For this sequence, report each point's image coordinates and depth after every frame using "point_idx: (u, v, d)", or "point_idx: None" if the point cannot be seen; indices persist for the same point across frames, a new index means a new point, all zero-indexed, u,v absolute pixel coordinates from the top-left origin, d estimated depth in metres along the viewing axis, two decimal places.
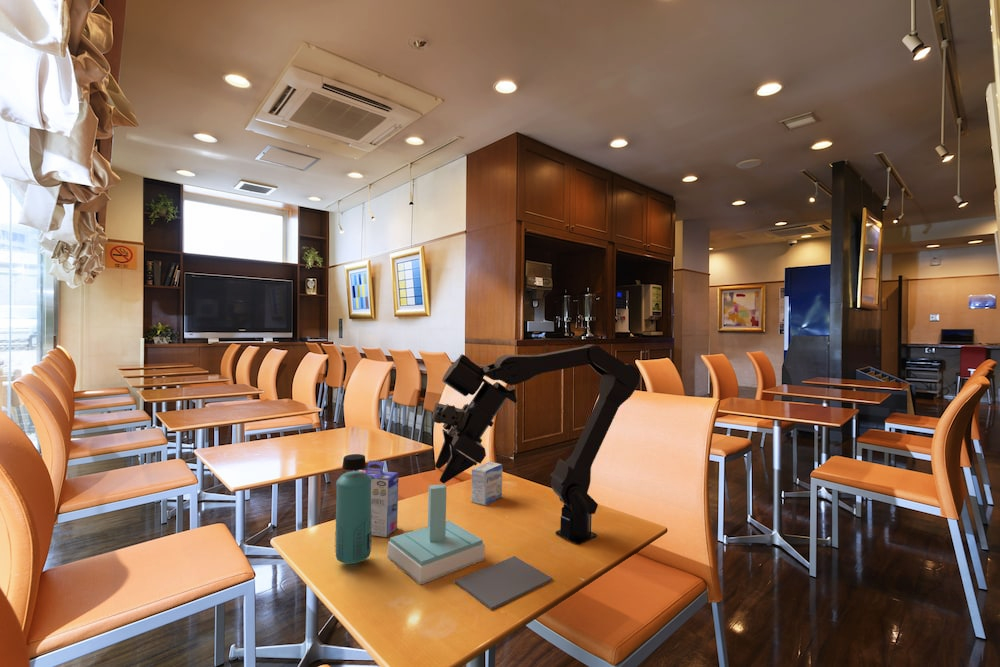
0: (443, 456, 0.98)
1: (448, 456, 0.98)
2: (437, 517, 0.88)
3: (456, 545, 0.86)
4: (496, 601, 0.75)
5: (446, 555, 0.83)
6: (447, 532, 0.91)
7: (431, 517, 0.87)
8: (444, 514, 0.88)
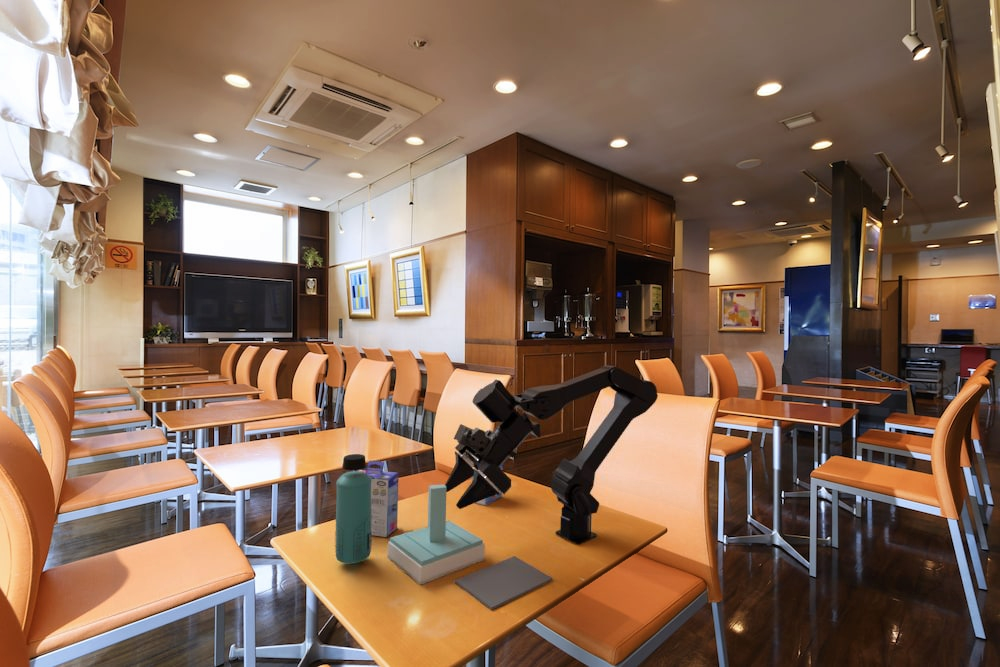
0: (453, 479, 0.94)
1: (458, 480, 0.95)
2: (437, 517, 0.88)
3: (456, 545, 0.86)
4: (496, 601, 0.75)
5: (446, 555, 0.83)
6: (447, 532, 0.91)
7: (431, 517, 0.87)
8: (444, 514, 0.88)
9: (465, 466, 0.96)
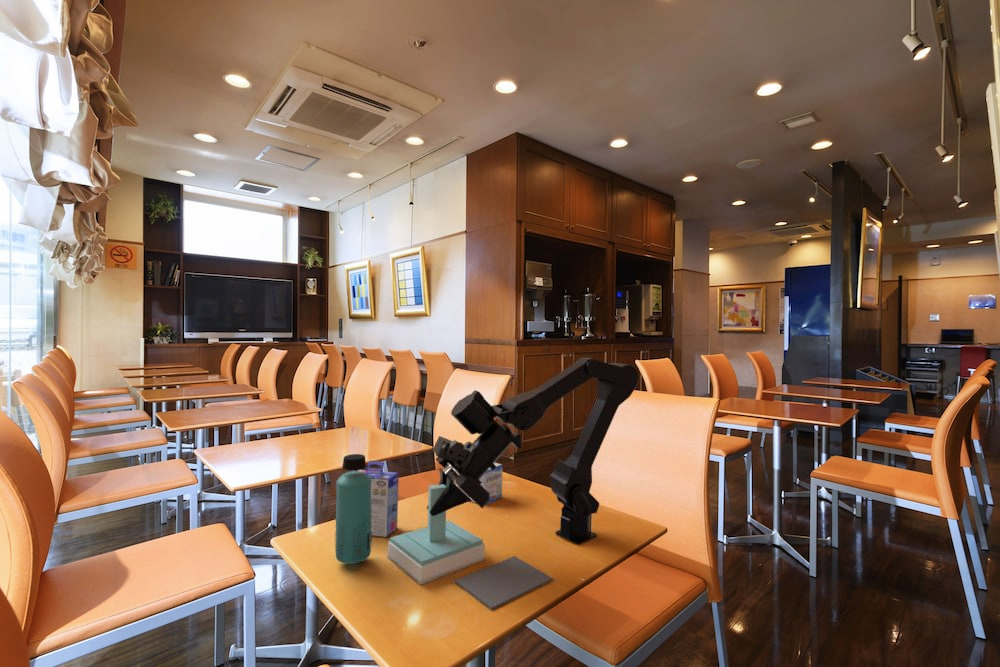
0: None
1: None
2: (437, 517, 0.88)
3: (456, 545, 0.86)
4: (496, 601, 0.75)
5: (446, 555, 0.83)
6: (447, 532, 0.91)
7: (431, 517, 0.87)
8: (444, 514, 0.88)
9: None
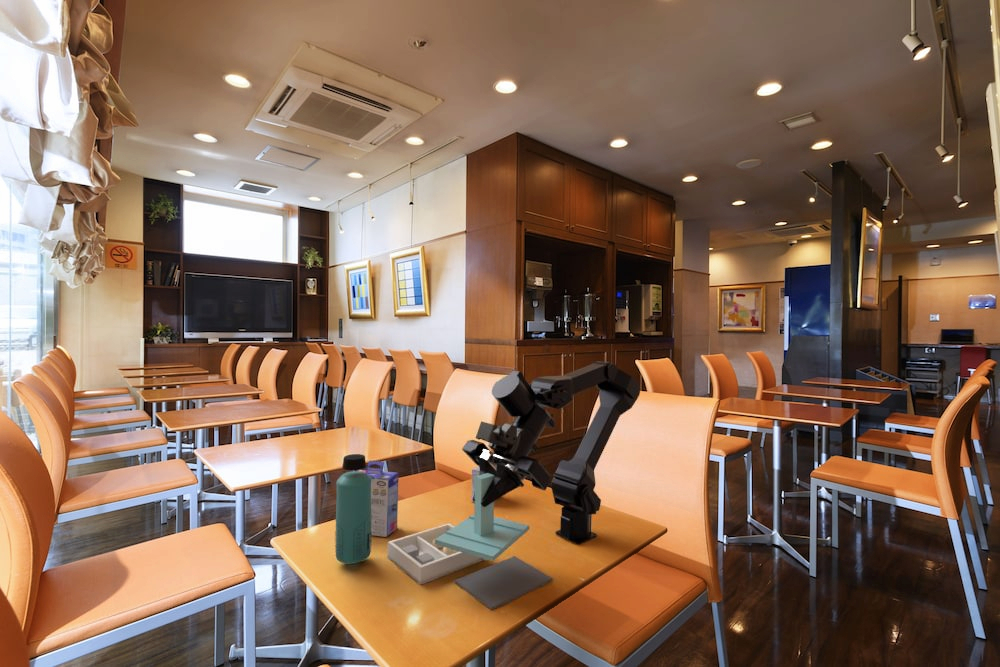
0: None
1: None
2: (487, 508, 0.81)
3: (510, 534, 0.81)
4: (496, 601, 0.75)
5: (508, 546, 0.78)
6: None
7: (481, 509, 0.81)
8: (492, 504, 0.82)
9: (492, 471, 0.85)
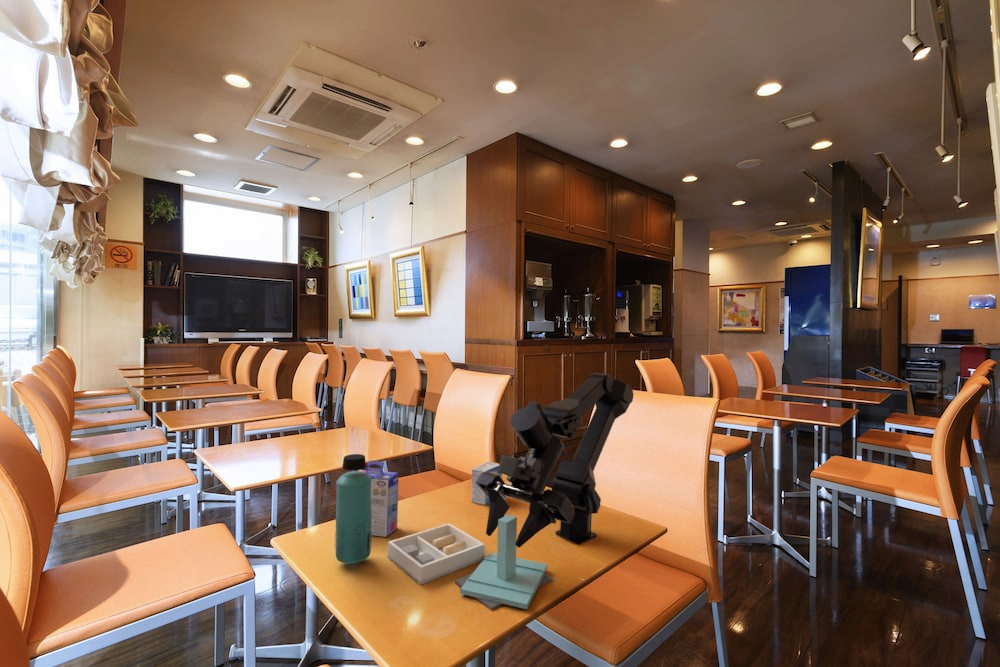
0: (494, 520, 0.83)
1: (497, 520, 0.84)
2: (510, 552, 0.80)
3: (533, 576, 0.81)
4: None
5: (535, 590, 0.77)
6: None
7: (506, 553, 0.79)
8: (515, 547, 0.81)
9: (502, 501, 0.85)
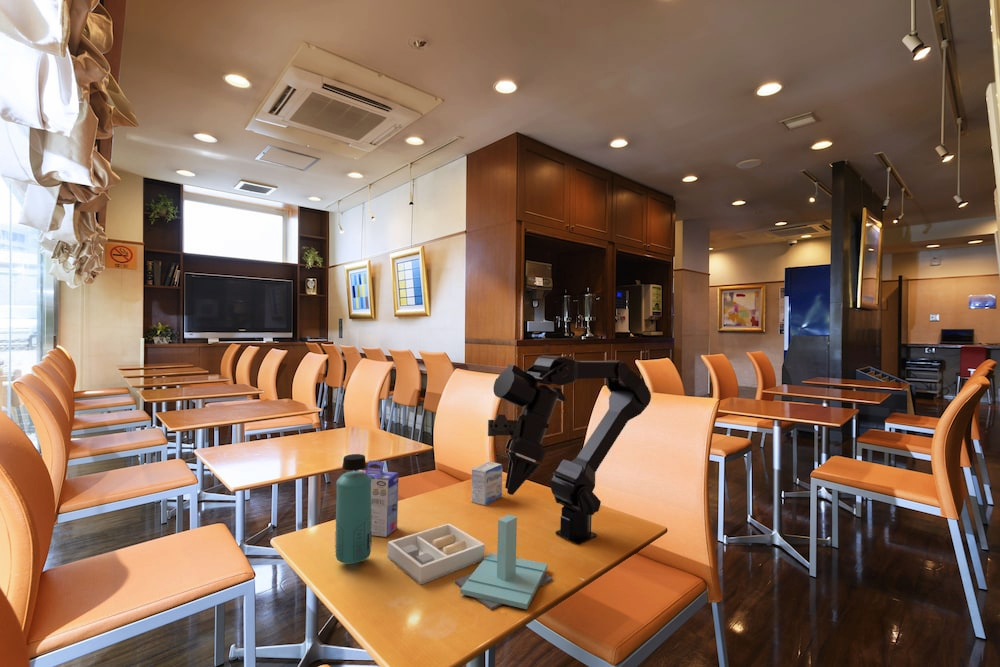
0: None
1: None
2: (510, 552, 0.80)
3: (533, 576, 0.81)
4: None
5: (535, 590, 0.77)
6: None
7: (506, 553, 0.79)
8: (515, 547, 0.81)
9: None
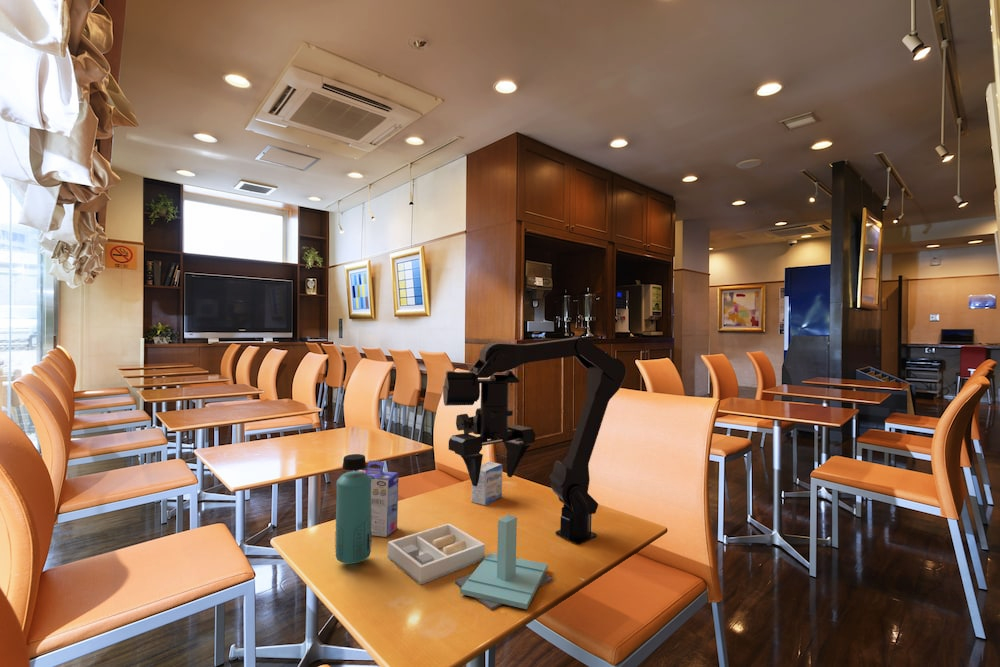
0: (509, 463, 0.98)
1: (512, 462, 0.97)
2: (510, 552, 0.80)
3: (533, 576, 0.81)
4: None
5: (535, 590, 0.77)
6: None
7: (506, 553, 0.79)
8: (515, 547, 0.81)
9: (511, 446, 0.98)
